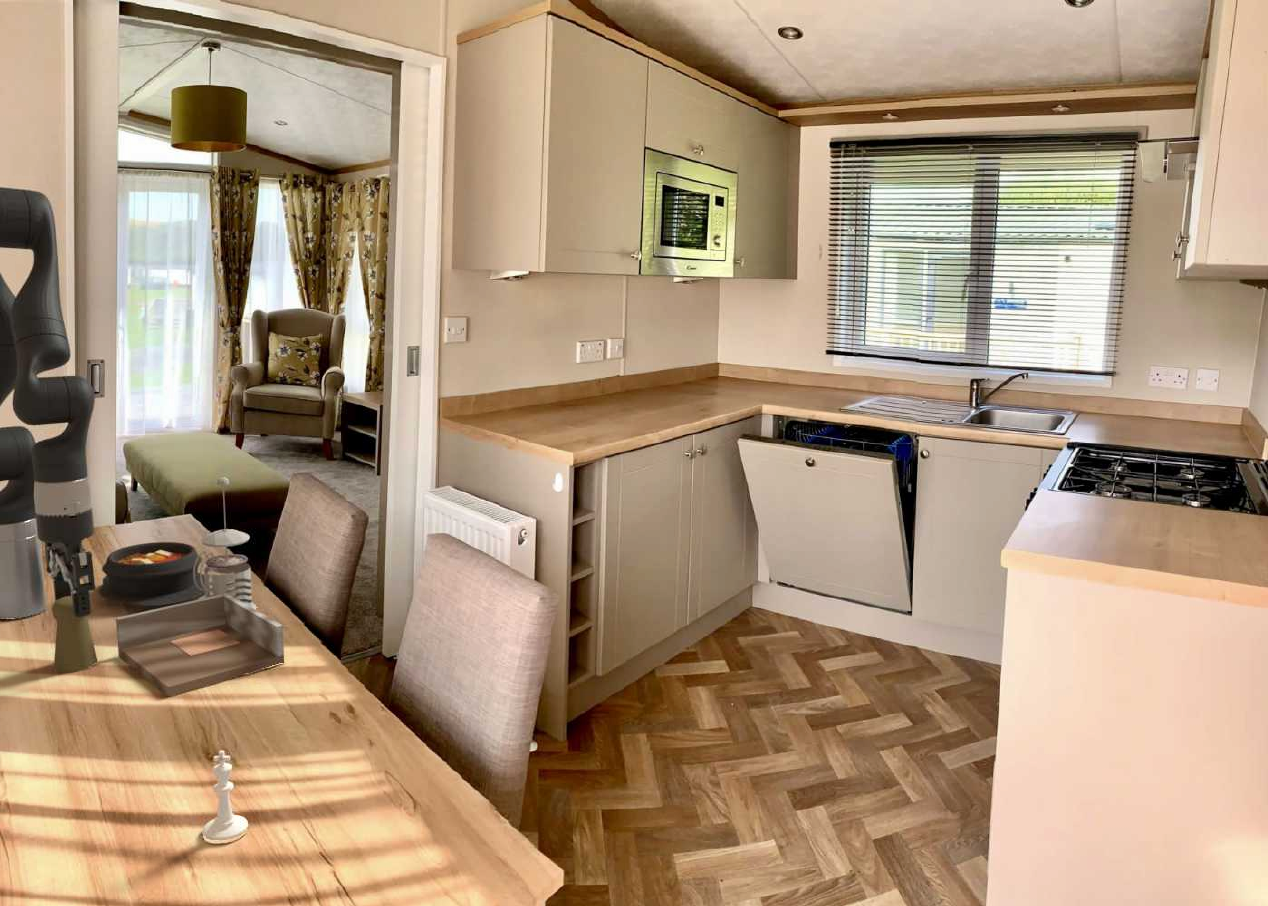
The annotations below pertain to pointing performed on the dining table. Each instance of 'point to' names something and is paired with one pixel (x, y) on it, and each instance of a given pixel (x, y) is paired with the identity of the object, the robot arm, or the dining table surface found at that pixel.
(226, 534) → the french press
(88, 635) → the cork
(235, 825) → the chess piece
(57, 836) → the dining table surface
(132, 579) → the casserole
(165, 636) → the board
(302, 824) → the dining table surface
